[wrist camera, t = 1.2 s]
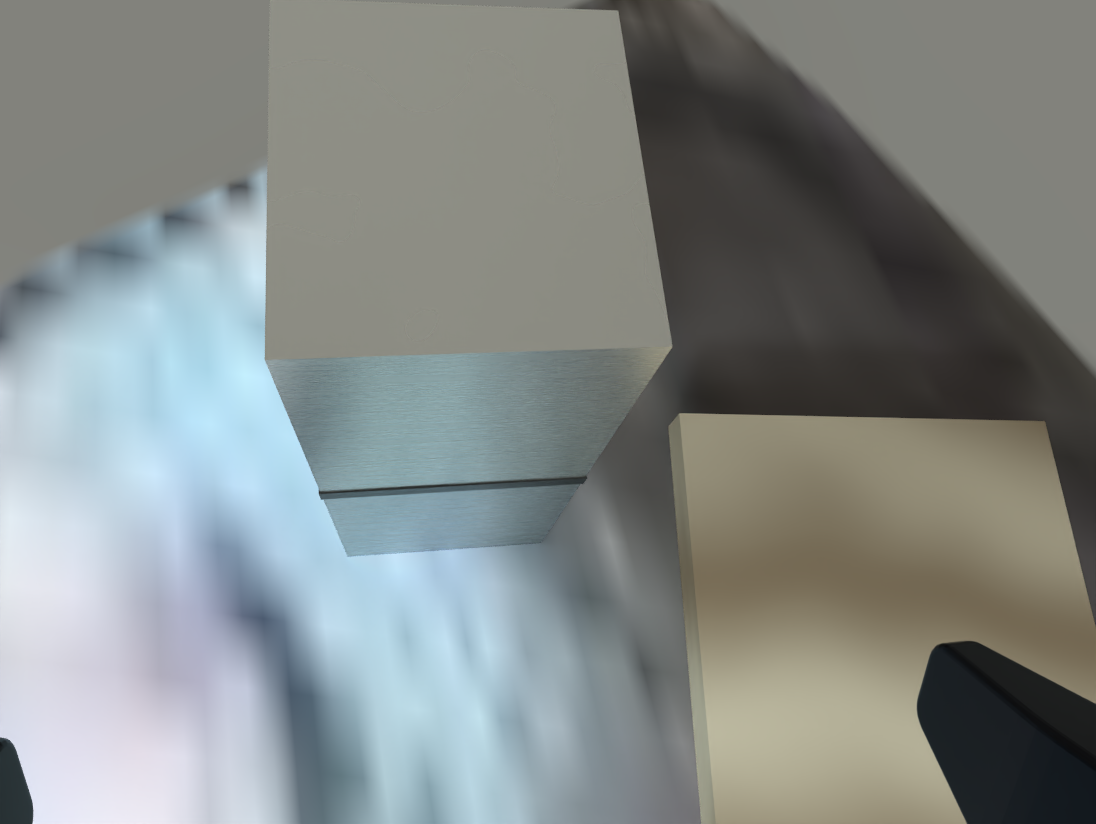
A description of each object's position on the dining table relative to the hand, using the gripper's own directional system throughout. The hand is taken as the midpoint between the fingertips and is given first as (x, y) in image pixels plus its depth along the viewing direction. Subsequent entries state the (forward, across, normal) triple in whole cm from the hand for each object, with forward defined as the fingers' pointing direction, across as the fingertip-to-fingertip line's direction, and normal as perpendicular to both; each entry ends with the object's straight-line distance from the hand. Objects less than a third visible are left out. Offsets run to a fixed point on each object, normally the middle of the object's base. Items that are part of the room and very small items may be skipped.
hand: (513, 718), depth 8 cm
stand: (+10, -10, +8) cm, 17 cm away
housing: (+14, 0, +4) cm, 15 cm away
